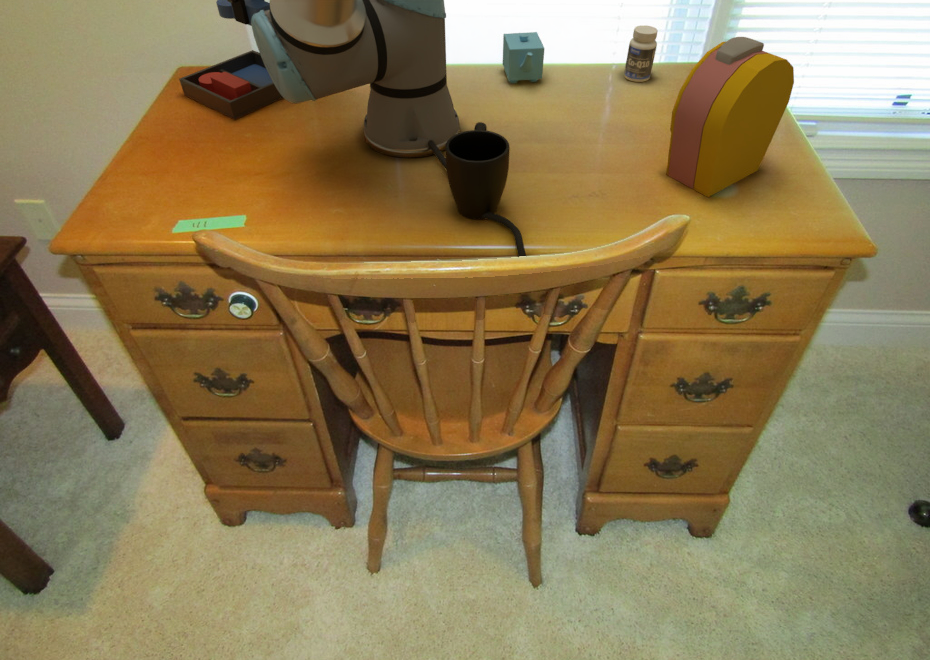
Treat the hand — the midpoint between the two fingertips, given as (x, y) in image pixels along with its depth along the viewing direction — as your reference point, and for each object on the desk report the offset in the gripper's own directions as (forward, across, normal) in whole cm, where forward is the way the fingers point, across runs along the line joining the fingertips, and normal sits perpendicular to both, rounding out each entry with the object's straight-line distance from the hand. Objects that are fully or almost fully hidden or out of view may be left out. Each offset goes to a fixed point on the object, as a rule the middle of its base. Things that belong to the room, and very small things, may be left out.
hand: (252, 18), depth 103 cm
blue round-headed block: (0, 0, -2) cm, 2 cm away
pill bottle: (+13, -46, +48) cm, 68 cm away
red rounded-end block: (+12, +6, -4) cm, 14 cm away
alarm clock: (+12, -24, +72) cm, 77 cm away
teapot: (+13, -32, +32) cm, 47 cm away
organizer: (+13, +2, -4) cm, 14 cm away
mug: (+12, +3, +50) cm, 52 cm away
